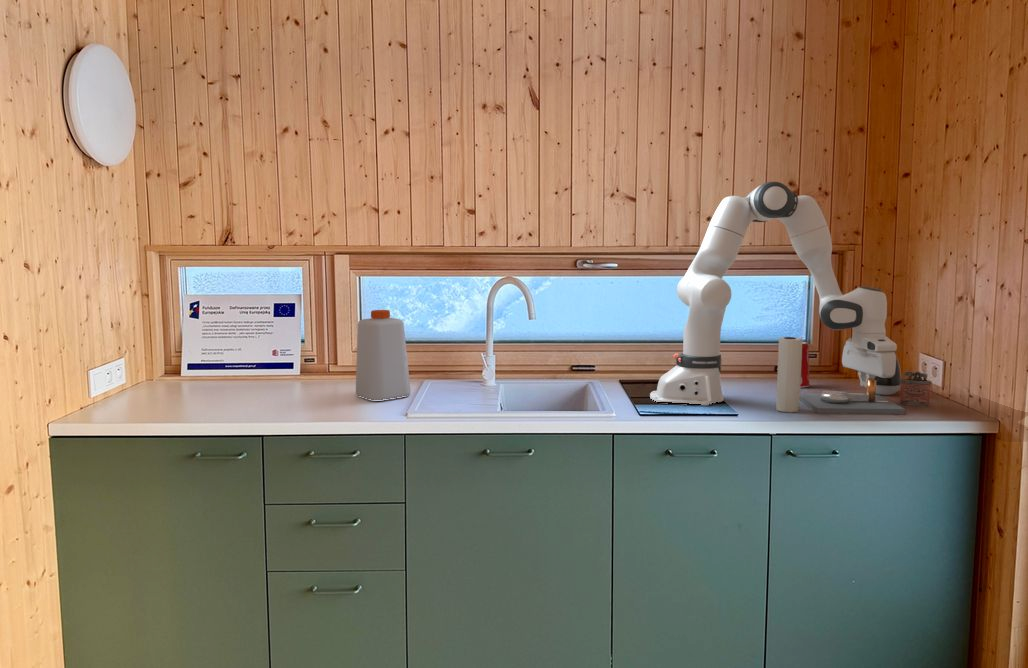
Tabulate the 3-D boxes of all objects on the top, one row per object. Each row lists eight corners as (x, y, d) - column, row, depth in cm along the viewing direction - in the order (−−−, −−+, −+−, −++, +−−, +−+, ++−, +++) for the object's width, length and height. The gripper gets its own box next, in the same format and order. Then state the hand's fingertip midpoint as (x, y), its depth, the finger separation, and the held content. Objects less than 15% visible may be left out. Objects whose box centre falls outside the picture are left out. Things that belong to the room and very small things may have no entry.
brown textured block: (930, 404, 214) (932, 371, 212) (929, 407, 211) (932, 373, 209) (899, 402, 218) (901, 369, 216) (898, 404, 215) (900, 371, 213)
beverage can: (810, 388, 237) (813, 343, 235) (790, 388, 239) (792, 343, 237) (807, 384, 243) (809, 341, 241) (787, 384, 244) (788, 340, 242)
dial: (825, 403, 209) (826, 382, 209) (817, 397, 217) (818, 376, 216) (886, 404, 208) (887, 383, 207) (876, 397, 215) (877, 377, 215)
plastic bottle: (373, 404, 222) (370, 314, 218) (351, 395, 234) (347, 310, 230) (415, 396, 232) (413, 310, 228) (392, 389, 243) (389, 307, 239)
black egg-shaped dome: (859, 393, 230) (861, 346, 227) (872, 388, 236) (875, 343, 234) (892, 398, 222) (895, 350, 220) (905, 393, 229) (909, 346, 227)
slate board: (817, 413, 205) (817, 407, 205) (797, 399, 223) (798, 394, 222) (904, 414, 203) (905, 408, 203) (878, 399, 221) (878, 394, 220)
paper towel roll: (778, 412, 206) (781, 339, 203) (773, 407, 212) (776, 336, 209) (804, 413, 205) (808, 339, 202) (799, 408, 211) (802, 336, 208)
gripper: (837, 336, 223) (835, 380, 224) (881, 346, 203) (878, 394, 204) (856, 336, 224) (853, 379, 225) (901, 346, 204) (898, 393, 205)
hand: (865, 387), depth 215 cm, fingers closed
